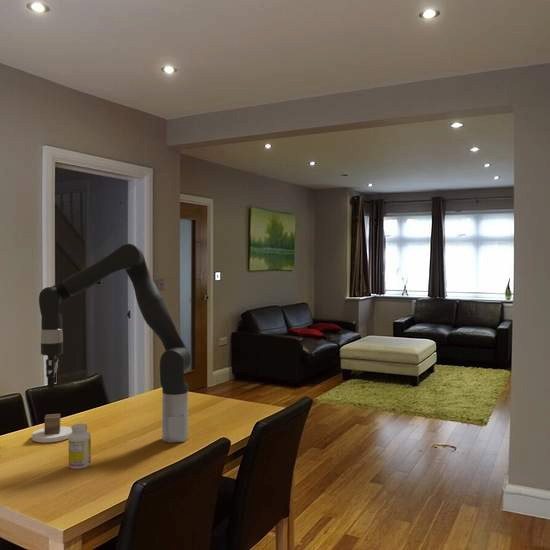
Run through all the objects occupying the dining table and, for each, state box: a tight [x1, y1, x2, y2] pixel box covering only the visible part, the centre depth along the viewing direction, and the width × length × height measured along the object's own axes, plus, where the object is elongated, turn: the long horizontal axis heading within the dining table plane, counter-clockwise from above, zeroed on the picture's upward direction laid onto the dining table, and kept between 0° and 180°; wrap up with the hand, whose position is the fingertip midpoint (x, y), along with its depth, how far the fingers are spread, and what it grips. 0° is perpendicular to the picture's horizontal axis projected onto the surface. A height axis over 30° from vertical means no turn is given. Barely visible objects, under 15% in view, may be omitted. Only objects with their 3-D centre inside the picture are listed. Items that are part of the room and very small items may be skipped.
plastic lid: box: [31, 425, 72, 443], centre depth 197 cm, size 14×14×2 cm
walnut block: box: [44, 413, 61, 435], centre depth 196 cm, size 5×5×6 cm
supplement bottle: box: [67, 422, 92, 470], centre depth 169 cm, size 7×7×13 cm
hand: (52, 385), depth 196 cm, fingers open, 8 cm apart
